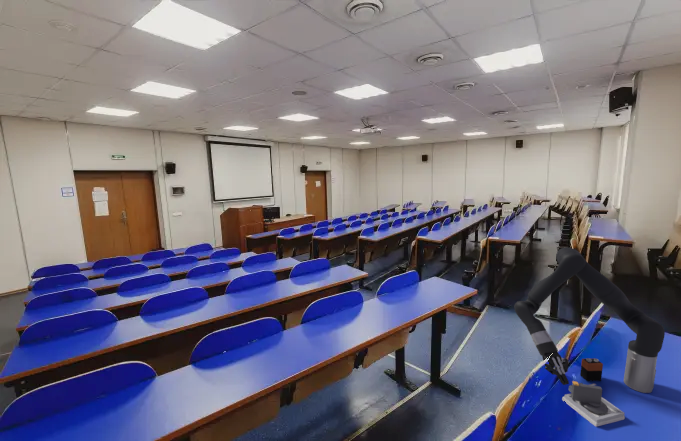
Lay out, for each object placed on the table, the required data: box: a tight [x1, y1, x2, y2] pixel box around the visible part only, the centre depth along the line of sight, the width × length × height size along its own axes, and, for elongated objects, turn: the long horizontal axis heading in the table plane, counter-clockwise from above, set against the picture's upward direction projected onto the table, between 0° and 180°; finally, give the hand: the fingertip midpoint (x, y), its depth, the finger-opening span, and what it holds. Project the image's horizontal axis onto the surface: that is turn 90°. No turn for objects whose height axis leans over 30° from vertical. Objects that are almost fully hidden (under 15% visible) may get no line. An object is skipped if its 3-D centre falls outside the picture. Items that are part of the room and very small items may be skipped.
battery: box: [579, 357, 604, 382], centre depth 139 cm, size 4×7×10 cm, turn 89°
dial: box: [570, 380, 608, 415], centre depth 122 cm, size 12×9×9 cm
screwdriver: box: [568, 382, 597, 393], centre depth 133 cm, size 14×3×3 cm, turn 103°
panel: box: [561, 392, 625, 427], centre depth 122 cm, size 14×14×3 cm
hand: (566, 384), depth 128 cm, fingers closed
